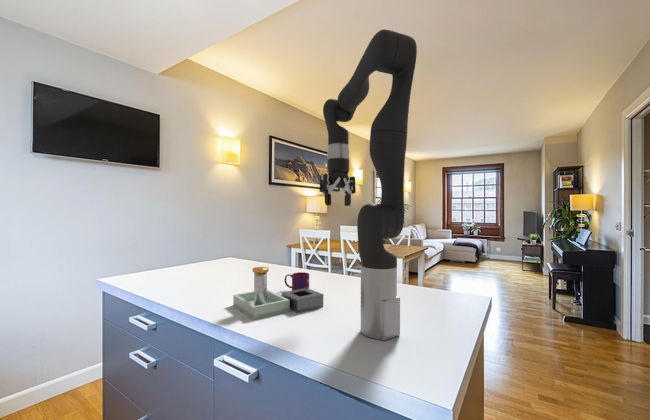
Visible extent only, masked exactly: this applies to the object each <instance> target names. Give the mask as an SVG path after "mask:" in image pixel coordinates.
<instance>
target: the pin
mask: <svg viewBox="0 0 650 420" xmlns="http://www.w3.org/2000/svg"><path fill="white" fill-rule="evenodd" d="M268 272H269V267H267V266H256V267H252V273H253V291H254V305H255V306H258V305H263V304H267V290H268Z"/></svg>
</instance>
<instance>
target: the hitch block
mask: <svg viewBox="0 0 650 420" xmlns="http://www.w3.org/2000/svg"><path fill="white" fill-rule="evenodd" d="M280 296H282V297H284V298H286V299H289V300H290V311H293V312H295V313H297V314H298V313H302V312H307V311H311V310H314V309H315V310H316V309H319V308H323V307H324V293H321V292H319V291H315V290H314V289H313V290H312V289H310V288H309V289H308V288H303V289H298V290H293V291H292V290H287V291H282V292H281V294H280Z"/></svg>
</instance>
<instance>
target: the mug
mask: <svg viewBox="0 0 650 420" xmlns="http://www.w3.org/2000/svg"><path fill="white" fill-rule="evenodd" d="M287 277H290V278H291V285H289V284H288V283H287ZM284 284H285V285H286V286H287V288H290V289H291V291H293V290H298V289H303V288H308V289H310V273H308V272H304V271H303V272H302V271H301V272H293V273H292V274H290V273H288V274H286V275H285V276H284Z"/></svg>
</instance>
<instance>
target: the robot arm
mask: <svg viewBox="0 0 650 420" xmlns="http://www.w3.org/2000/svg"><path fill="white" fill-rule="evenodd" d="M417 47H418V46H417V42H416V40H415V38H414V37H412V36H410V35H408V34H406V33H405V34H404V33H402V32H397V31H394V30H390V29H380V30H379V31H377V32H376V33H375V34H374V36H373V37H372V38H371V39H370V41H369V43H368V45H367V47H366V49H365V50H364V52H363V55H362V56H361V58H360V60H359V62H358V64H357V66H356V68H355V70H354V72H353V74H352V75H351V78H350V79H349V81H347V83H346V84H345V86H344V87H343V88H342V89H341V91H340V92H339V93H338V96H337V99H334V98H330V99H329V98H328V99H327V100H326V101H325V102H324V103H323V108H322V114H323V118H324V122H325V125H326V130H327V139H328V140H327V143H328V144H327V159H326V160H327V167H326V168H327V173H323V174H320V176H319V192H320V193H323V195H324V204H325V206H328V207H329V206H332V192H333V190H334V189H340V190H341V191H343V193H344V206H345V207H349V206H351V203H352V195H353V194H356V191H357V189H356V177H355V176H349V172H350V148H349V147H350V146H349V139H350V136H349V134H350V133H349V130H348V129H347V128H346V127H344V126H341V125H340V124H339V123H348V122H350V121H351V120H352V119H353V117H354V115H355V112H356V110H357V108H358V106H359V105H360V104H361V103H362V102H364V100H365V99H366V98H367V96H368V95H369V92H370V91H369V90H370V76H371V75H372V74H373V73H374V72H379V73H383V74H388V75H391V76H392V83H391V89H390V93H389V96H388V98H387V100H386V101H385V103H384V104H383V106H382V107H381V108H380V110H379V111H378V113H377V115H376V116H375V117H374V119H373V120H372V123H371V126H370V131H369V132H370V135H369V156H370V159H371V162H372V165H373V167H374V169H375V172H376V174H377V175H378V178H379V181H380V188H381V195H380V196H381V199H380V200H381V201H380V203H367V204H364V205H363V206H361V207H360V209H359V212H358V215H357V221H356V222H357V223H356V226H357V227H356V228H357V229H356V230H357V231H356V232H357V242H358V243H357V246H358V247H357V248H358V249H357V251H358V255H359V258H360V332H361V334H362V335H363V336H365V337H367V338H370V339H376V340H381V341H383V342H384V341H385V342H386V341H388V340H390V339H392V338H395V337H399V336H400V335H401V297H400V296H398V258H397V255H396V254H394V253H391V252H389V251H387V250H386V248H385V244H384V240H391V239H395V238H397V237H399V236H400V235H401V233H402V231H403V229H404V225H405V192H404V190H405V189H404V185H405V165H406V163H405V162H406V154H407V152H406V151H407V142H408V140H407V139H408V125H409V124H408V122H409V110H410V101H411V92H412V87H413V81H414V75H415V69H416V63H417V55H418V49H417ZM338 122H339V123H338Z"/></svg>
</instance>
